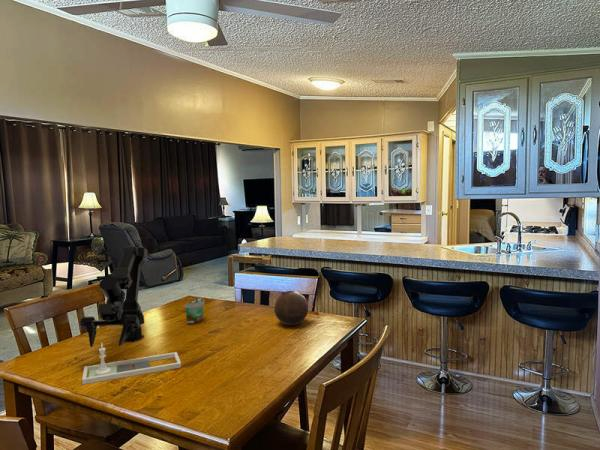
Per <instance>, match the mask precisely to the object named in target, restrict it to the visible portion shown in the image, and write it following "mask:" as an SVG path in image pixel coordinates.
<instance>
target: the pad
mask: <svg viewBox="0 0 600 450" xmlns="http://www.w3.org/2000/svg"><path fill="white" fill-rule="evenodd" d="M107 368H111V373H109V374H113V373H117V372H116V371H117V367H116V366H113V367H107ZM96 370H98V369H95V370H90V371H88V378H89V377H95V376H97V375H95V371H96Z"/></svg>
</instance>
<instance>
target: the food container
mask: <svg viewBox="0 0 600 450" xmlns="http://www.w3.org/2000/svg"><path fill="white" fill-rule="evenodd" d="M184 304H185V305H184V308H185V315H186V317H185V318H186V324H187V325H190V326H191V325H197V324H201V323H202V322H203V320H204V319H203V318H204V305H205V304H206V302H205V300H204V298H203V297H200V296H199V297H198V296H196V298H195V299H194V300H191V301H190V302H189V303H188V302H186V303H184Z"/></svg>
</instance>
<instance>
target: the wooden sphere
mask: <svg viewBox="0 0 600 450" xmlns="http://www.w3.org/2000/svg"><path fill="white" fill-rule="evenodd" d="M273 307H274V314H275V317H276V318H277V320H279V321H280V323H282V324H284V325H287V326H295V325H299V324H300V323H302V322H303V321H304V320H305V319H306V317H307V315H308V313H309V304H308V301H307V299H306V298H305V296H304V295H303V294H302V293H301V292H298V291H296V290H288V291H284V292H282V293H281V294H280V295H278V297H277V298H276V301H275V302H274V306H273Z"/></svg>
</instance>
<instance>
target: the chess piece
mask: <svg viewBox="0 0 600 450" xmlns="http://www.w3.org/2000/svg"><path fill="white" fill-rule="evenodd" d="M103 343H104V342H101V346H100V348H99V349H98V351H99V354H100V355H99V356H98V358H99V359H100V364H101V365H100V368H99V369H98V370H96V371H95V375H97V376H101V375H107V374H109V373H111V368H107V367H106V365H105V363H106V361H105V357H107V354H105V353H106V347H104V346H103V345H104V344H103Z"/></svg>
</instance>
